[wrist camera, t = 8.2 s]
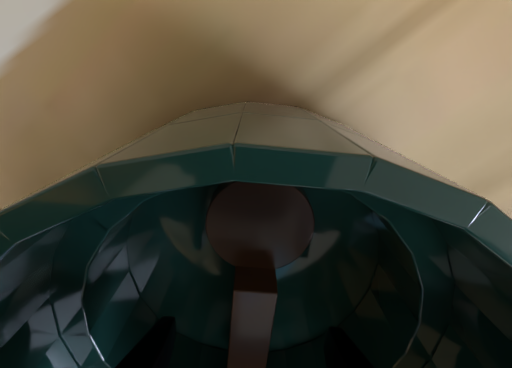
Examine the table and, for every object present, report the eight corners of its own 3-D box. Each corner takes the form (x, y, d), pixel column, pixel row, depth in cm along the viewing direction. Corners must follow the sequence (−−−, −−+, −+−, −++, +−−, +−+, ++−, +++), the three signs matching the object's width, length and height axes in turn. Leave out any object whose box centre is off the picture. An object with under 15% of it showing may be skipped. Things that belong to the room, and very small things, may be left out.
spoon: (284, 344, 13) (290, 395, 11) (205, 339, 13) (195, 390, 11) (317, 171, 9) (335, 197, 7) (211, 162, 9) (199, 185, 7)
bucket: (238, 391, 15) (227, 602, 9) (35, 240, 11) (-222, 432, 5) (456, 272, 12) (662, 470, 6) (281, 11, 8) (360, -178, 2)
